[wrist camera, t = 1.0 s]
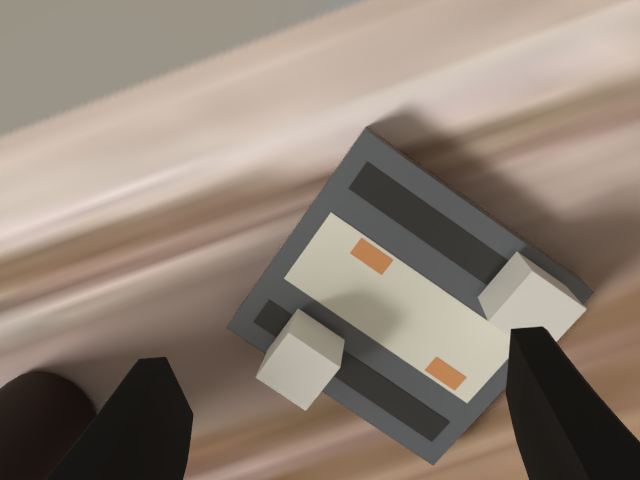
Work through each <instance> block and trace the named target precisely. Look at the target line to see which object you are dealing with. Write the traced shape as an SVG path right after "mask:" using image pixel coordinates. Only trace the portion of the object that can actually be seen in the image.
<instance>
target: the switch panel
mask: <svg viewBox="0 0 640 480" xmlns="http://www.w3.org/2000/svg"><path fill="white" fill-rule="evenodd" d="M516 252H519V253H520V254H521V255H523V256H524V257H526V258H527V259H529V260H530V261H531V262H533V263H534V264H536V265H537V266H538V267H540V268H541V269H543V270H544V271H546V272H547V273H548V274H550V275H551V276H553V277H554V278H555V279H557V280H558V281H560V282H561V283H563V284H564V285H565V286H566V287H567V288H568V289H569V290H570V291H571V292H572V293H573V294H574V296H575V297H576V298H577V299H578V300H579V301H580V302H581V303H582V305H583V303H584V302H585V301H586V300H587V299H588V298H589V297H590V296H591V295H592V294H593V293H594V292H593V291H592V290H591V289H590V288H589V287H588V286H587V285H586V284H585V283H584V282H583V281H582V280H581V279H580V278H579V277H577V276H576V275H574V274H573V273H572V272H570V271H569V270H567V269H566V268H564V267H563V266H562V265H560V264H559V263H557V262H556V261H555V260H553V259H552V258H550V257H549V256H548V255H546V254H545V253H543V252H542V251H541V250H539V249H538V248H536V247H535V246H533V245H532V244H531V243H529V242H528V241H526V240H525V239H524V238H522V237H521V236H519V235H518V234H517V233H515V232H514V231H512V230H511V229H509V228H508V227H507V226H505V225H504V224H502V223H501V222H500V221H498V220H497V219H495V218H494V217H493V216H491V215H490V214H488V213H487V212H486V211H484V210H483V209H481V208H480V207H478V206H477V205H476V204H474V203H473V202H471V201H470V200H469V199H467V198H466V197H464V196H463V195H462V194H460V193H459V192H457V191H456V190H455V189H453V188H452V187H450V186H449V185H447V184H446V183H445V182H443V181H442V180H440V179H439V178H438V177H436V176H435V175H433V174H432V173H431V172H429V171H428V170H426V169H425V168H424V167H422V166H421V165H419V164H418V163H416V162H415V161H414V160H412V159H411V158H409V157H408V156H407V155H405V154H404V153H402V152H401V151H400V150H398V149H397V148H395V147H394V146H392V145H391V144H390V143H388V142H387V141H385V140H384V139H383V138H381V137H380V136H378V135H377V134H376V133H374V132H373V131H371V130H370V129H369V128H367V127H365V128H364V130H363V131H362V133H361V134H360V136H359V137H358V138H357V140H356V141H355V143H354V144H353V146H352V147H351V149H350V150H349V151H348V153H347V154H346V156H345V157H344V159H343V160H342V162H341V163H340V164H339V166H338V167H337V169H336V170H335V172H334V173H333V174H332V176H331V177H330V179H329V180H328V182H327V183H326V185H325V186H324V187H323V189H322V190H321V192H320V193H319V195H318V196H317V197H316V199H315V200H314V202H313V203H312V205H311V206H310V208H309V209H308V210H307V212H306V213H305V215H304V216H303V218H302V219H301V220H300V222H299V223H298V225H297V226H296V228H295V229H294V231H293V232H292V233H291V235H290V236H289V238H288V239H287V241H286V242H285V243H284V245H283V246H282V248H281V249H280V251H279V252H278V254H277V255H276V256H275V258H274V259H273V261H272V262H271V264H270V265H269V266H268V268H267V269H266V271H265V272H264V274H263V275H262V277H261V278H260V279H259V281H258V282H257V284H256V285H255V287H254V288H253V289H252V291H251V292H250V294H249V295H248V297H247V298H246V300H245V301H244V302H243V304H242V305H241V307H240V308H239V310H238V311H237V312H236V314H235V315H234V317H233V319H232V320H231V322H230V323H229V325H228V326H227V328H228V329H229V330H231V331H232V332H234V333H235V334H237V335H238V336H240V337H241V338H243V339H244V340H246V341H247V342H249V343H250V344H252V345H253V346H255V347H256V348H258V349H259V350H261V351H262V352H264V353H265V354H266V352H267V350H268V349H269V347H270V346H271V344H272V343H273V342H274V340H275V339H276V338H277V336H278V335H279V334H280V332H281V331H282V329H283V328H284V327H285V325H286V324H287V323H288V321H289V320H290V319H291V317H292V316H293V315H294V313H295V312H296V310H297V309H300V310H301V311H303V312H304V313H306V314H307V315H309V316H310V317H312V318H313V319H315V320H316V321H317V322H319V323H320V324H322V325H323V326H325V327H326V328H328V329H329V330H331V331H332V332H334V333H335V334H337V335H338V336H340V337H341V338H343V339H344V340H345V341H344V348H343V354H342V360H341V367H340V369H339V370H338V371H337V372H336V374H335V375H334V376H333V377H332V379H331V380H330V381H329V382H328V384H327V385H326V386H325V387H324V389H323V390H322V392H324V393H325V394H327V395H328V396H330V397H331V398H333V399H334V400H336V401H337V402H339V403H340V404H342V405H343V406H345V407H346V408H348V409H349V410H351V411H352V412H354V413H355V414H357V415H358V416H360V417H361V418H363V419H364V420H366V421H367V422H369V423H370V424H372V425H373V426H375V427H376V428H378V429H379V430H381V431H382V432H384V433H385V434H387V435H388V436H389V437H391V438H392V439H394V440H395V441H397V442H398V443H400V444H401V445H403V446H404V447H406V448H407V449H409V450H410V451H412V452H413V453H415V454H416V455H418V456H419V457H421V458H422V459H424V460H425V461H427V462H428V463H430V464H431V465H434V464H435V463H436V462H437V461H438V460H439V459H440V458H441V457H442V455H443V454H444V453H445V452H446V451H447V450H448V449H449V448H450V447H451V446H452V445H453V444H454V443H455V441H456V440H457V439H458V438H459V437H460V436H461V435H462V434H463V433H464V432H465V431H466V430H467V429H468V427H469V426H470V425H471V424H472V423H473V422H474V421H475V420H476V419H477V418H478V417H479V416H480V415H481V413H482V412H483V411H484V410H485V409H486V408H487V407H488V406H489V405H490V404H491V403H492V402H493V400H494V399H495V398H496V397H497V396H498V395H499V394H500V393H501V392H502V391H503V390H504V389H505V388H506V383H507V370H508V358H509V345H510V336H508V335H507V334H505V333H504V332H503V331H501V330H500V329H498V328H497V327H495V326H494V325H492V324H491V323H490V322H488V320H487V317H486V315H485V313H484V311H483V308H482V306H481V304H480V301H479V299H478V296H479V295H480V294H481V293H482V292H483V290H484V289H485V288H486V287H487V286H488V285H489V283H490V282H491V281H492V280H493V279H494V278H495V276H496V275H497V274H498V273H499V272H500V271H501V269H502V268H503V267H504V266H505V265H506V263H507V262H508V261H509V260H510V259H511V258H512V256H513V255H514V254H515V253H516Z"/></svg>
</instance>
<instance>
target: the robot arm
mask: <svg viewBox="0 0 640 480" xmlns="http://www.w3.org/2000/svg"><path fill="white" fill-rule="evenodd" d="M506 397H507V401H508V406H509V410H510V415H511V420H512V424H513V428H514V433H515V437H516V441H517V444H518V447H519V450H520V453H521V456H522V459H523V462H524V465H525V468H526V471H527V474H528V477H529V480H640V441H639V440H638V439H637V438H636V437H635V436H634V435H633V434H632V433H631V432H630V431H629V430H628V429H627V427H626V426H625V425H624V424H623V423H622V422H621V421H620V420H619V418H618V417H617V416H616V415H615V414H614V413H613V412H612V410H611V409H610V408H609V407H608V406H607V405H606V404H605V402H604V401H603V400H602V399H601V398H600V397H599V396H598V394H597V393H596V392H595V391H594V390H593V388H592V387H591V386H590V385H589V384H588V382H587V381H586V380H585V379H584V377H583V376H582V375H581V374H580V372H579V371H578V370H577V369H576V367H575V366H574V365H573V364H572V362H571V361H570V360H569V359H568V357H567V356H566V355H565V353H564V352H563V351H562V349H561V348H560V347H559V345H558V344H557V343H556V341H555V340H554V338H553V337H552V336H551V334H550V333H549V331H548V330H547V329H545V328H544V327H543V326H539V327H527V328H515V329H511V333H510V345H509V358H508V370H507V383H506ZM192 422H193V412H192V410H191V408H190V406H189V404H188V402H187V400H186V398H185V396H184V394H183V392H182V389H181V387H180V385H179V383H178V381H177V379H176V377H175V375H174V373H173V371H172V369H171V366H170V364H169V362H168V360H167V358H166V357H159V358H147V359H139V360H138V361H137V362H136V364H135V365H134V366H133V367H132V369H131V370H130V371H129V373H128V374H127V375H126V377H125V378H124V379H123V381H122V382H121V383H120V385H119V386H118V387H117V389H116V390H115V391H114V393H113V394H112V395H111V397H110V398H109V400H108V401H107V402H106V404H105V405H104V406H103V408H102V409H101V410H100V411H99V413H98V414H97V415H96V417H95V418H94V419H93V421H92V422H91V423H90V425H89V426H88V427H87V428H86V430H85V431H84V432H83V434H82V435H81V436H80V437H79V439H78V440H77V441H76V443H75V444H74V445H73V446H72V448H71V449H70V450H69V452H68V453H67V454H66V455H65V457H64V458H63V459H62V460H61V461H60V463H59V464H58V465H57V466H56V467H55V468H54V470H53V471H52V472H51V473H50V474H49V476H48V477H47V478H46V479H45V480H183V477H184V473H185V469H186V465H187V461H188V454H189V447H190V440H191V431H192Z"/></svg>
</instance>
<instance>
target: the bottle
mask: <svg viewBox="0 0 640 480" xmlns="http://www.w3.org/2000/svg"><path fill="white" fill-rule="evenodd" d="M95 417H96V414H95V411H94V408H93V406H92V404H91V403H90V401H89V400H88V398H87V397H86V396H85V394H84V393H83V392H82V391H81V390H80V389H79V388H77V387H76V386H75V385H74V384H72V383H71V382H70V381H68V380H66V379H64V378H61V377H59V376H57V375H55V374H49V373H42V372H35V373H29V374H23V375H20V376H19V377H17V378H15V379H13V380H12V381H10V382H8V383H7V384H6V385H4V386H3V387H2V388H0V480H45V479H46V478H47V477H48V476H49V474H50V473H51V472H52V471H53V470H54V468H55V467H56V466H57V465H58V464H59V463H60V461H61V460H62V459H63V458H64V457H65V455H66V454H67V453H68V452H69V450H70V449H71V448H72V446H73V445H74V444H75V443H76V441H77V440H78V439H79V437H80V436H81V435H82V434H83V432H84V431H85V430H86V428H87V427H88V426H89V425H90V423H91V422H92V421H93V419H94V418H95Z"/></svg>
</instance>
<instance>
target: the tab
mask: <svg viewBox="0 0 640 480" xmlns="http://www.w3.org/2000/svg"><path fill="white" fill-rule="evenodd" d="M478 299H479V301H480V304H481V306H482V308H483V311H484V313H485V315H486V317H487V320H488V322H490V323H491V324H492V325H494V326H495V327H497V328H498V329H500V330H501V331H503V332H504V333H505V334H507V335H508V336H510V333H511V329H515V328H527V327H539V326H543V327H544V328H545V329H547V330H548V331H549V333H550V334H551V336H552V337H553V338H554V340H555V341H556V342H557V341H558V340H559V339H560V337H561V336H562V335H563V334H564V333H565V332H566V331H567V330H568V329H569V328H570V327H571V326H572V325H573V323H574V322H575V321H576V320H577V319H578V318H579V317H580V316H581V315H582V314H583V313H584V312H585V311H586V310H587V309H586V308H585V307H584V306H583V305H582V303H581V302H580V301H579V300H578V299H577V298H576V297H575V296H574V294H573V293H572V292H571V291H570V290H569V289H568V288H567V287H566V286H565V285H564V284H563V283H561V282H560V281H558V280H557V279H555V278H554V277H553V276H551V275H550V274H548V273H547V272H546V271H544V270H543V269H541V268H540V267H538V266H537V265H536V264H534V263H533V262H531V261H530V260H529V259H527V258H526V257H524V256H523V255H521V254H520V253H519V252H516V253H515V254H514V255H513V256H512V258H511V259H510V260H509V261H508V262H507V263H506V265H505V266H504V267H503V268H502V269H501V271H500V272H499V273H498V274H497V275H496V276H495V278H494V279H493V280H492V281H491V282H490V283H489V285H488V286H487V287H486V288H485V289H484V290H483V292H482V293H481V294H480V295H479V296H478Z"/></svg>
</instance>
